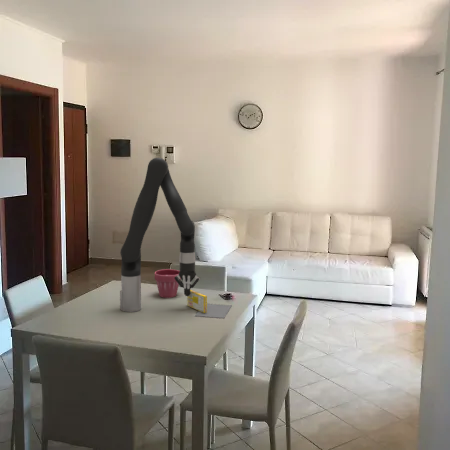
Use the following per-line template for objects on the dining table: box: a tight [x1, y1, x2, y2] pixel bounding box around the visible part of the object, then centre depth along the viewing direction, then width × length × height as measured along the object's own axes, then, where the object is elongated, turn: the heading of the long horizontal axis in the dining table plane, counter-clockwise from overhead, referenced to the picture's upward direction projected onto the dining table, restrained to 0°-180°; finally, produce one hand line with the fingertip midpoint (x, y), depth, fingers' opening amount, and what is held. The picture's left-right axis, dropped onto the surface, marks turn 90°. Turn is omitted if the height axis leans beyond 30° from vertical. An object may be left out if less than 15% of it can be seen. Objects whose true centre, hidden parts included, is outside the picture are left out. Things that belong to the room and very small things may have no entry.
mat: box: [194, 302, 233, 319], centre depth 245 cm, size 14×20×1 cm
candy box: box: [186, 289, 208, 313], centre depth 246 cm, size 16×2×8 cm, turn 34°
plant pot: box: [154, 268, 182, 299], centre depth 269 cm, size 14×14×13 cm
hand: (187, 295), depth 246 cm, fingers closed
